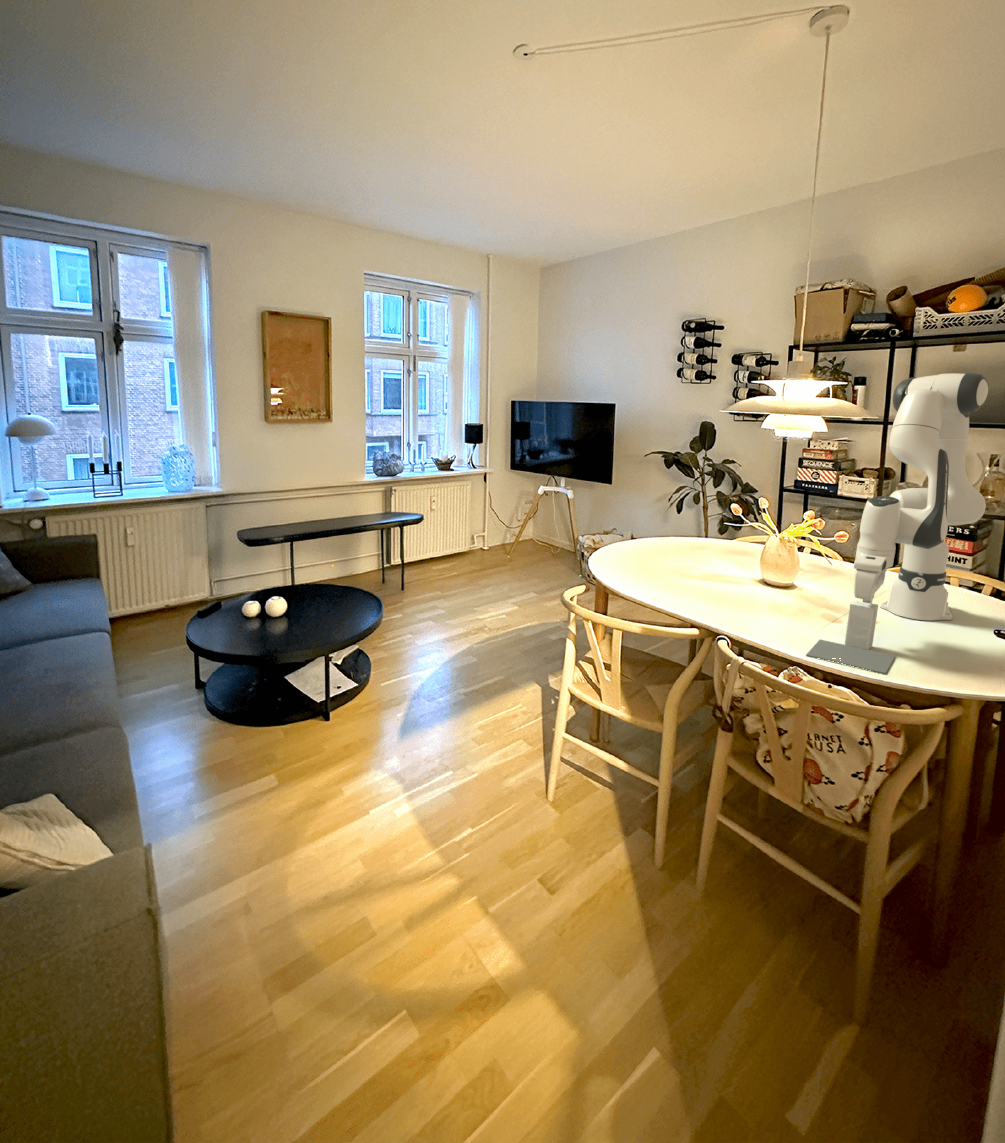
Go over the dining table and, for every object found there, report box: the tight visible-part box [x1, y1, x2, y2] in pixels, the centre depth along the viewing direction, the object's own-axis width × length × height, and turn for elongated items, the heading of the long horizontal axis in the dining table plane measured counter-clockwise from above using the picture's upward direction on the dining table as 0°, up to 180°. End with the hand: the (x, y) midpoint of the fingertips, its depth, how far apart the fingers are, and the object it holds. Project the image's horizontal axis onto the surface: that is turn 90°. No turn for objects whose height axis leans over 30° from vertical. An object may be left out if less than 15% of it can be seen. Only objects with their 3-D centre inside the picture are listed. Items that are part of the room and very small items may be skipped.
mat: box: [805, 639, 896, 675], centre depth 161 cm, size 14×18×1 cm
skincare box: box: [844, 600, 879, 650], centre depth 166 cm, size 6×4×12 cm
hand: (866, 607), depth 169 cm, fingers closed
